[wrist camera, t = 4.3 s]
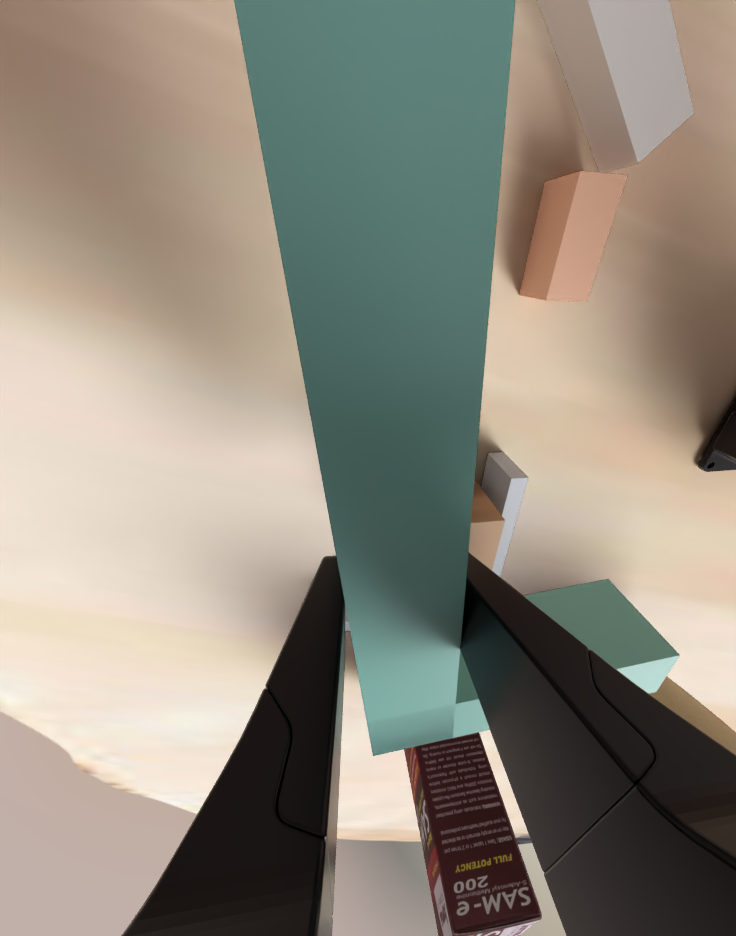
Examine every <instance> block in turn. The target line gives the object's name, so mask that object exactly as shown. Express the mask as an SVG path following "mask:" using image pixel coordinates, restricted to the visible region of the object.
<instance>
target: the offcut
mask: <svg viewBox="0 0 736 936" xmlns="http://www.w3.org/2000/svg"><path fill="white" fill-rule="evenodd" d="M627 176H628V175H624V174H612V173H600V172H587V171H579V172H575V173H572V174H569V175H566V176H562V177H559V178H556V179H553V180H549V181H546V182H545V183H544V188H543V192H542V197H541V201H540V205H539V210H538V214H537V219H536V223H535V227H534V232H533V236H532V241H531V245H530V249H529V254H528V258H527V263H526V267H525V271H524V276H523V280H522V285H521V289H520V293H519V295H521V296H526V297H531V298H536V299H542V300H551V301H588V298H589V295H590V292H591V289H592V285H593V282H594V279H595V276H596V273H597V270H598V267H599V264H600V260H601V257H602V254H603V251H604V248H605V245H606V242H607V239H608V236H609V232H610V229H611V226H612V223H613V220H614V217H615V214H616V211H617V207H618V204H619V201H620V198H621V195H622V192H623V189H624V186H625V182H626V179H627Z"/></svg>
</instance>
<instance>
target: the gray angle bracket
mask: <svg viewBox="0 0 736 936" xmlns="http://www.w3.org/2000/svg"><path fill="white" fill-rule="evenodd" d="M527 481H528V477H527V476H526V475H525V474H524V472H523V471H522V470H521V469H520V468H519V467H518V466H517V465H516V464H515V463H514V462H513V461H512V460H511V459H510V458H509V457H508V456H507V455H506V454H505V453H504V452H496V453H488V456H487V461H486V466H485V470H484V475H483V480H482V485H481V488H482V490H483V491H484V492H485V494H486V495H487V496H488V498H489V499H490V500H491V502H492V503H493V504H494V506H495V507H496V508H497V510H498V511H499V513H500V514H501V515H502V517H503V518H504V519H505V523H504V527H503V531H502V534H501V538H500V542H499V546H498V550H497V553H496V557H495V561H494V565H493V569H492V571H493V572H494V573H496V574H497V575H498V576H499V577H500V576H501V572H502V569H503V565H504V562H505V558H506V555H507V551H508V548H509V544H510V541H511V537H512V534H513V530H514V527H515V523H516V520H517V516H518V513H519V509H520V506H521V502H522V499H523V495H524V492H525V488H526V485H527ZM345 631H350V627H349V622H348V616H347V611H346V606H345Z"/></svg>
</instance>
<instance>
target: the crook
mask: <svg viewBox="0 0 736 936" xmlns="http://www.w3.org/2000/svg"><path fill="white" fill-rule="evenodd" d="M234 2H235V7H236V13H237V18H238V24H239V29H240V34H241V40H242V45H243V51H244V56H245V62H246V67H247V73H248V78H249V83H250V89H251V94H252V100H253V105H254V111H255V116H256V121H257V127H258V132H259V138H260V143H261V149H262V154H263V160H264V165H265V170H266V176H267V181H268V187H269V192H270V198H271V203H272V209H273V214H274V219H275V225H276V230H277V236H278V241H279V247H280V252H281V257H282V263H283V268H284V274H285V279H286V285H287V290H288V296H289V301H290V306H291V312H292V317H293V323H294V328H295V334H296V339H297V345H298V350H299V355H300V361H301V366H302V372H303V377H304V383H305V388H306V393H307V399H308V404H309V410H310V415H311V421H312V426H313V432H314V437H315V442H316V448H317V453H318V459H319V464H320V470H321V475H322V480H323V486H324V491H325V497H326V502H327V508H328V513H329V519H330V524H331V529H332V535H333V540H334V546H335V551H336V557H337V562H338V568H339V573H340V578H341V584H342V589H343V595H344V600H345V606H346V611H347V616H348V622H349V627H350V633H351V638H352V644H353V649H354V655H355V660H356V665H357V671H358V676H359V682H360V687H361V693H362V698H363V704H364V709H365V714H366V720H367V725H368V731H369V736H370V742H371V747H372V752H373V756H375V755H380V754H384V753H388V752H393V751H397V750H402V749H406V748H411V747H415V746H419V745H424V744H428V743H433V742H437V741H442V740H446V739H450V738H455V737H459V736H464V735H468V734H473V733H477V732H481V731H486V730H490V728H489V725H488V723H487V720H486V717H485V715H484V712H483V709H482V707H481V704H480V701H479V699H478V696H477V693H476V691H475V688H474V685H473V683H472V680H471V677H470V674H469V672H468V669H467V666H466V664H465V661H464V658H463V656H462V653H461V650H460V645H461V634H462V623H463V611H464V599H465V587H466V576H467V564H468V552H469V540H470V529H471V517H472V505H473V493H474V481H475V470H476V458H477V446H478V434H479V423H480V411H481V399H482V387H483V376H484V364H485V352H486V340H487V328H488V317H489V305H490V293H491V281H492V270H493V258H494V246H495V234H496V223H497V211H498V199H499V187H500V176H501V164H502V152H503V140H504V128H505V117H506V105H507V93H508V81H509V70H510V58H511V46H512V34H513V23H514V11H515V0H234ZM523 596H524V597H526V598H527V599H528V600H529V601H531V602H532V603H533V604H534V605H536V606H537V607H538V608H540V609H541V610H542V611H543V612H545V613H546V614H547V615H548V616H550V617H551V618H552V619H553V620H555V621H556V622H557V623H558V624H560V625H561V626H562V627H563V628H565V629H566V630H567V631H568V632H570V633H571V634H572V635H573V636H575V637H576V638H577V639H578V640H580V641H581V642H582V643H583V644H585V645H586V646H587V647H588V650H592V651H594V652H595V653H596V654H597V655H599V656H600V657H601V658H602V659H604V660H605V661H606V662H607V663H609V664H610V665H611V666H613V667H614V668H615V669H616V670H618V671H619V672H620V673H622V674H623V675H624V676H626V677H627V678H628V679H629V680H631V681H632V682H633V683H635V684H636V685H637V686H639V687H640V688H642V689H643V690H644V691H646V692H647V693H649V694H650V693H654V692H657V690H658V688H659V687H660V685H661V684H662V682H663V681H664V679H665V678H666V676H667V675H668V673H669V671H670V670H671V668H672V667H673V665H674V664H675V662H676V661H677V659H678V658H679V656H680V655H679V654H678V653H677V652H676V650H675V649H674V648H673V647H672V646H671V645H670V644H669V643H668V642H667V641H666V640H665V639H664V638H663V637H662V636H661V635H660V634H659V632H658V631H657V630H656V629H655V628H654V627H653V626H652V625H651V624H650V623H649V622H648V621H647V620H646V619H645V618H644V617H643V615H642V614H641V613H640V612H639V611H638V610H637V609H636V608H635V607H634V606H633V605H632V604H631V603H630V602H629V601H628V600H627V599H626V597H625V596H624V595H623V594H622V593H621V592H620V591H619V590H618V589H617V588H616V587H615V586H614V585H613V584H612V583H611V582H610V580H609V579H606V580H600V581H595V582H590V583H585V584H580V585H575V586H569V587H564V588H559V589H554V590H549V591H544V592H538V593H533V594H528V595H523Z"/></svg>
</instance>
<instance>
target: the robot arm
mask: <svg viewBox="0 0 736 936" xmlns="http://www.w3.org/2000/svg"><path fill="white" fill-rule="evenodd" d="M698 467H699V468H700V469H702V470H704V471H706V472H710V471H723V470H736V399H735V400H734V402H733V404H732V406H731V408H730V409H729V411H728V413H727V415H726V416H725V418H724V420H723V422H722V423H721V425H720V427H719V429H718V431H717V432H716V434H715V436H714V438H713V439H712V441H711V443H710V445H709V447H708V448H707V450H706V452H705V454H704V455H703V457H702V459H701V461H700V463H699V465H698ZM460 650H461V653H462V656H463V658H464V661H465V664H466V666H467V669H468V672H469V674H470V677H471V680H472V683H473V685H474V688H475V691H476V693H477V696H478V699H479V701H480V704H481V707H482V709H483V712H484V715H485V717H486V720H487V723H488V725H489V728H490V731H491V734H492V736H493V739H494V742H495V744H496V747H497V750H498V752H499V755H500V758H501V760H502V763H503V766H504V768H505V771H506V774H507V776H508V779H509V782H510V784H511V787H512V790H513V793H514V795H515V798H516V801H517V803H518V806H519V809H520V811H521V814H522V817H523V819H524V822H525V825H526V827H527V830H528V833H529V835H530V838H531V841H532V843H533V846H534V849H535V851H536V854H537V857H538V859H539V862H540V865H541V868H542V870H543V871H544V872H545V873H544V876H545V879H546V882H547V884H548V887H549V890H550V892H551V895H552V898H553V900H554V903H555V906H556V909H557V911H558V914H559V917H560V919H561V922H562V925H563V927H564V930H565V933H566V935H567V936H736V755H735V754H734V753H732V752H731V751H730V750H728V749H727V748H725V747H724V746H722V745H721V744H720V743H718V742H717V741H715V740H714V739H712V738H711V737H710V736H708V735H707V734H705V733H704V732H702V731H701V730H699V729H698V728H697V727H695V726H694V725H692V724H691V723H689V722H688V721H687V720H685V719H684V718H682V717H681V716H679V715H678V714H677V713H675V712H674V711H672V710H671V709H669V708H668V707H667V706H665V705H664V704H662V703H661V702H660V701H658V700H657V699H655V698H654V697H653V696H651V695H650V694H649V693H647V692H646V691H644V690H643V689H642V688H640V687H639V686H637V685H636V684H635V683H633V682H632V681H631V680H629V679H628V678H627V677H626V676H624V675H623V674H622V673H620V672H619V671H618V670H616V669H615V668H614V667H613V666H611V665H610V664H609V663H607V662H606V661H605V660H604V659H602V658H601V657H600V656H599V655H597V654H596V653H595V652H594V651H592V650H588V647H587V646H586V645H585V644H583V643H582V642H581V641H580V640H578V639H577V638H576V637H575V636H573V635H572V634H571V633H570V632H568V631H567V630H566V629H565V628H563V627H562V626H561V625H560V624H558V623H557V622H556V621H555V620H553V619H552V618H551V617H550V616H548V615H547V614H546V613H545V612H543V611H542V610H541V609H540V608H538V607H537V606H536V605H534V604H533V603H532V602H531V601H529V600H528V599H527V598H526V597H524V596H523V595H522V594H521V593H519V592H518V591H517V590H516V589H514V588H513V587H512V586H511V585H509V584H508V583H507V582H506V581H504V580H503V579H502V578H501V577H499V576H498V575H497V574H496V573H494V572H493V571H492V570H491V569H489V568H488V567H487V566H486V565H484V564H483V563H482V562H481V561H479V560H478V559H477V558H476V557H474V556H473V555H472V554H471V553H469V552H468V564H467V576H466V587H465V599H464V611H463V623H462V634H461V645H460ZM344 670H345V600H344V595H343V589H342V584H341V578H340V573H339V568H338V562H337V557H336V556H325V557H324V558H323V559H322V561H321V564H320V566H319V568H318V570H317V572H316V575H315V577H314V579H313V581H312V583H311V586H310V588H309V590H308V592H307V595H306V597H305V599H304V601H303V603H302V606H301V608H300V610H299V612H298V614H297V617H296V619H295V621H294V623H293V625H292V628H291V630H290V632H289V634H288V637H287V639H286V641H285V643H284V645H283V648H282V650H281V652H280V654H279V656H278V659H277V661H276V663H275V665H274V668H273V670H272V672H271V674H270V676H269V679H268V681H267V683H266V688H265V689H264V690H263V691H262V694H261V696H260V698H259V700H258V702H257V705H256V707H255V709H254V711H253V713H252V715H251V717H250V719H249V721H248V723H247V725H246V728H245V730H244V732H243V734H242V736H241V738H240V740H239V742H238V743H237V745H236V747H235V749H234V751H233V753H232V754H231V756H230V758H229V760H228V762H227V763H226V765H225V767H224V769H223V771H222V773H221V774H220V776H219V778H218V780H217V781H216V783H215V785H214V786H213V788H212V790H211V792H210V793H209V795H208V797H207V799H206V800H205V802H204V804H203V805H202V807H201V809H200V811H199V812H198V814H197V816H196V817H195V819H194V821H193V823H192V824H191V826H190V828H189V830H188V831H187V833H186V835H185V837H184V838H183V840H182V842H181V843H180V845H179V847H178V849H177V850H176V852H175V854H174V855H173V857H172V859H171V861H170V862H169V864H168V866H167V868H166V869H165V871H164V872H163V874H162V876H161V877H160V879H159V881H158V882H157V884H156V886H155V888H154V889H153V890H152V892H151V894H150V895H149V897H148V898H147V900H146V901H145V903H144V904H143V906H142V907H141V909H140V910H139V912H138V913H137V915H136V916H135V918H134V919H133V920H132V922H131V924H130V925H129V926H128V927H127V929H126V930H125V931H124V933H123V934H122V936H332V924H333V923H332V922H333V919H332V915H333V902H334V881H335V859H336V839H337V818H338V797H339V776H340V755H341V733H342V712H343V691H344Z"/></svg>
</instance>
